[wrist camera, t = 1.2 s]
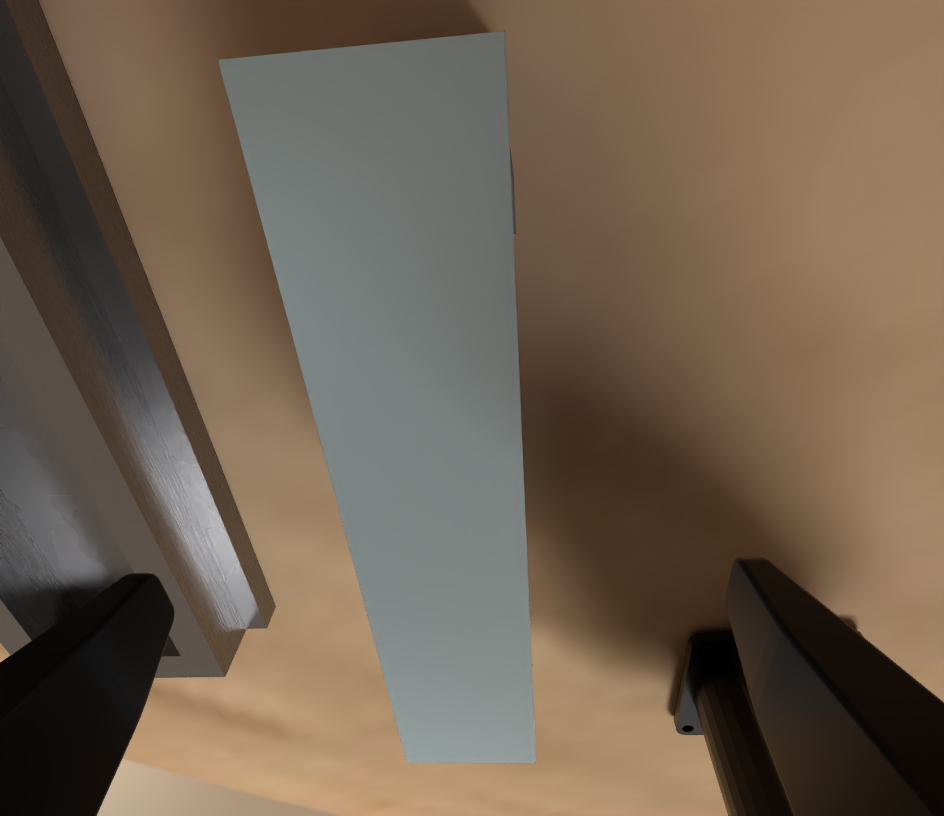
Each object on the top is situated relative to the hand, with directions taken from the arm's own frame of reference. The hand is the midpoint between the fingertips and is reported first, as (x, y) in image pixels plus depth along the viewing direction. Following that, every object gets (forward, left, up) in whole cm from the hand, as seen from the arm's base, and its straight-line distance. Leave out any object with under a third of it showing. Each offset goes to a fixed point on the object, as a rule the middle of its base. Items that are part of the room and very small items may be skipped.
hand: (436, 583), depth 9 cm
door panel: (0, 0, -9) cm, 9 cm away
